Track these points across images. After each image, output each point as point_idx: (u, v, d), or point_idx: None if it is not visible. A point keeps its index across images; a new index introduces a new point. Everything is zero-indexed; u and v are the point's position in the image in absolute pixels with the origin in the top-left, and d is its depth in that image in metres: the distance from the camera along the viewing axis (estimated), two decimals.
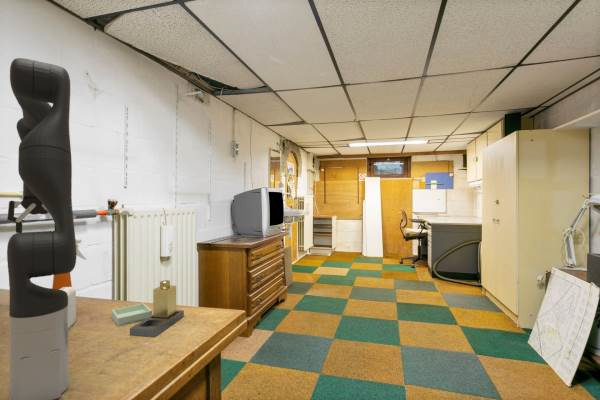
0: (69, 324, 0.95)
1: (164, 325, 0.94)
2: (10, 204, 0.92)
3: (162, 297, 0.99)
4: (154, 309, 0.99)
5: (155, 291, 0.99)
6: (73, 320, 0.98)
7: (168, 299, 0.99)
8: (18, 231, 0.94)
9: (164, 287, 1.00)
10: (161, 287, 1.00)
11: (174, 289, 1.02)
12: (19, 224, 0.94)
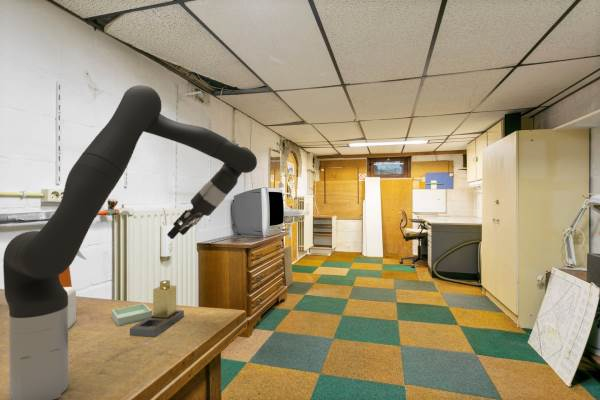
0: (69, 324, 0.95)
1: (164, 325, 0.94)
2: None
3: (162, 297, 0.99)
4: (154, 309, 0.99)
5: (155, 291, 0.99)
6: (73, 320, 0.98)
7: (168, 299, 0.99)
8: None
9: (164, 287, 1.00)
10: (161, 287, 1.00)
11: (174, 289, 1.02)
12: None
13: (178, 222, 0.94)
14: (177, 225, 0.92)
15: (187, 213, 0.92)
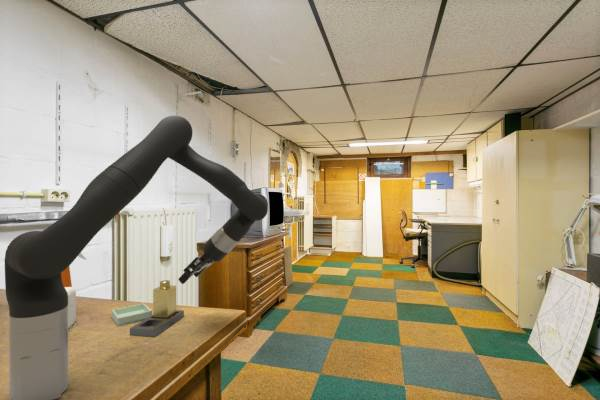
0: (69, 324, 0.95)
1: (164, 325, 0.94)
2: None
3: (162, 297, 0.99)
4: (154, 309, 0.99)
5: (155, 291, 0.99)
6: (73, 320, 0.98)
7: (168, 299, 0.99)
8: None
9: (164, 287, 1.00)
10: (161, 287, 1.00)
11: (174, 289, 1.02)
12: None
13: (189, 268, 0.94)
14: (187, 272, 0.92)
15: (197, 261, 0.92)
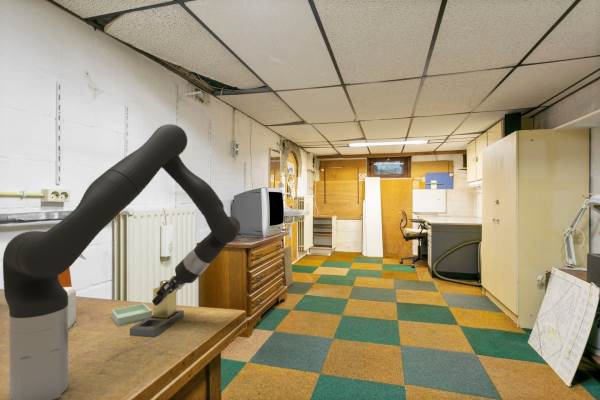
0: (69, 324, 0.95)
1: (164, 325, 0.94)
2: None
3: None
4: (154, 309, 0.99)
5: (155, 291, 0.99)
6: (73, 320, 0.98)
7: (168, 299, 0.99)
8: None
9: None
10: None
11: None
12: None
13: None
14: (159, 295, 0.95)
15: (166, 286, 0.94)
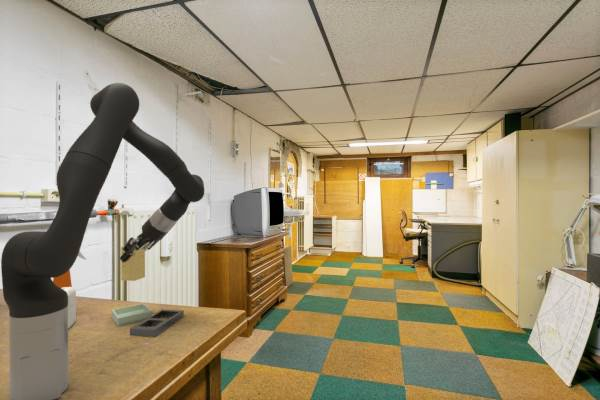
0: (69, 324, 0.95)
1: (164, 325, 0.94)
2: None
3: None
4: (122, 266, 1.02)
5: None
6: (73, 320, 0.98)
7: (136, 257, 1.02)
8: None
9: None
10: None
11: (142, 248, 1.05)
12: None
13: (128, 247, 1.00)
14: (126, 250, 0.98)
15: (131, 241, 0.96)
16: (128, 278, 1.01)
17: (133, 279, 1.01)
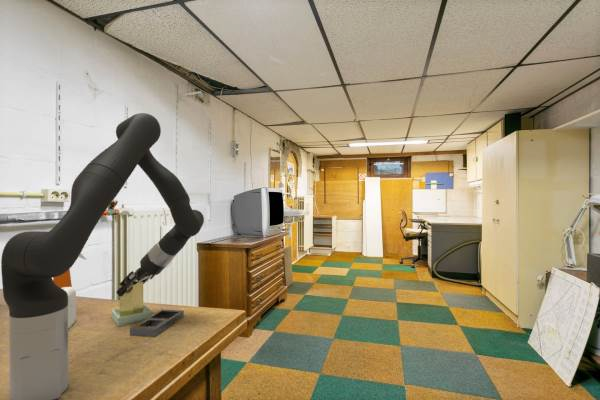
0: (69, 324, 0.95)
1: (164, 325, 0.94)
2: None
3: (128, 293, 1.01)
4: (120, 304, 1.02)
5: None
6: (73, 320, 0.98)
7: (134, 295, 1.02)
8: None
9: None
10: None
11: (141, 285, 1.05)
12: None
13: (126, 281, 0.99)
14: (122, 285, 0.97)
15: (131, 275, 0.96)
16: None
17: None
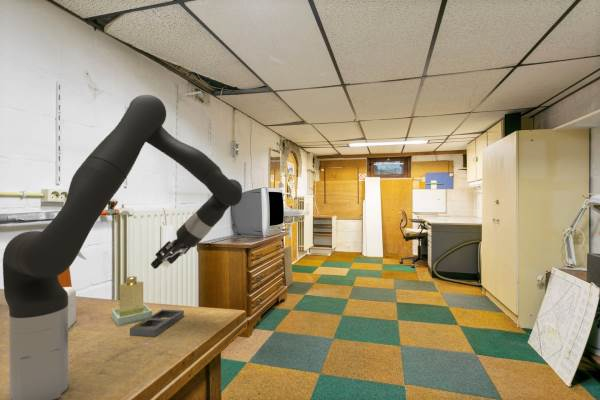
0: (69, 324, 0.95)
1: (164, 325, 0.94)
2: None
3: (128, 293, 1.01)
4: (120, 304, 1.02)
5: (121, 287, 1.02)
6: (73, 320, 0.98)
7: (134, 295, 1.02)
8: None
9: (130, 283, 1.02)
10: (127, 283, 1.03)
11: (141, 285, 1.05)
12: None
13: (161, 252, 0.94)
14: (159, 256, 0.92)
15: (169, 245, 0.92)
16: None
17: None
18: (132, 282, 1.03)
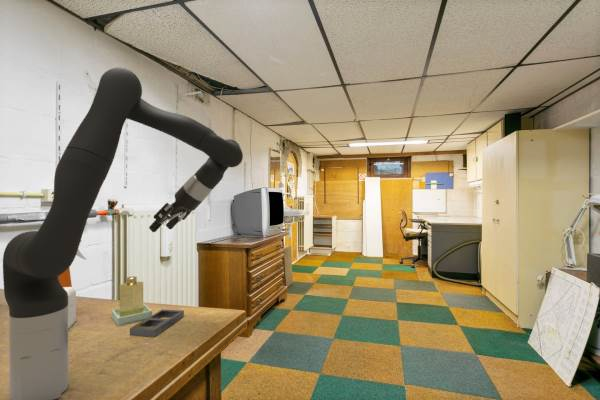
0: (69, 324, 0.95)
1: (164, 325, 0.94)
2: None
3: (128, 293, 1.01)
4: (120, 304, 1.02)
5: (121, 287, 1.02)
6: (73, 320, 0.98)
7: (134, 295, 1.02)
8: None
9: (130, 283, 1.02)
10: (127, 283, 1.03)
11: (141, 285, 1.05)
12: None
13: (160, 215, 0.91)
14: (157, 218, 0.89)
15: (167, 206, 0.89)
16: None
17: None
18: (132, 282, 1.03)
